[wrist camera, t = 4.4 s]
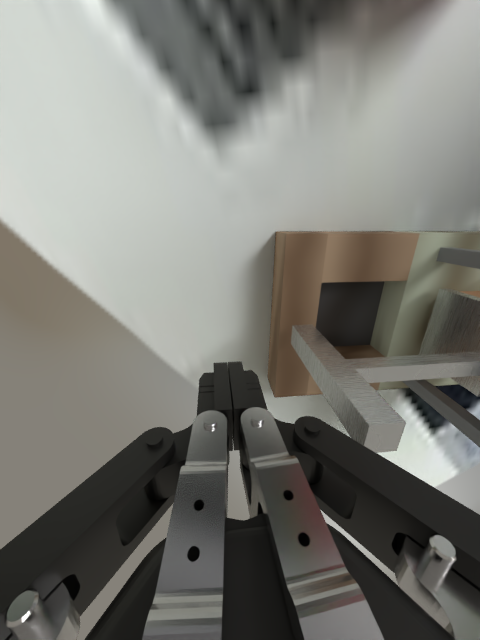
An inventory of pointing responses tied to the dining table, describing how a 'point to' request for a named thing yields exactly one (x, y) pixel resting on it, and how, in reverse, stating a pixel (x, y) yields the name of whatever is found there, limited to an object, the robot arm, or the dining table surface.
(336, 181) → the dining table surface
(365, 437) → the slider
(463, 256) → the tunnel
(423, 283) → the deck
